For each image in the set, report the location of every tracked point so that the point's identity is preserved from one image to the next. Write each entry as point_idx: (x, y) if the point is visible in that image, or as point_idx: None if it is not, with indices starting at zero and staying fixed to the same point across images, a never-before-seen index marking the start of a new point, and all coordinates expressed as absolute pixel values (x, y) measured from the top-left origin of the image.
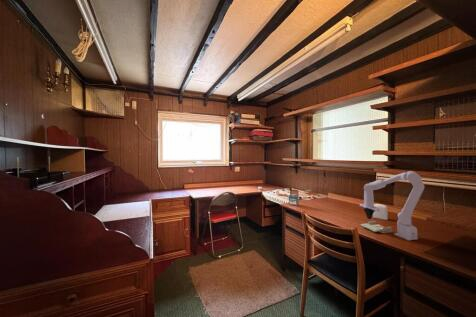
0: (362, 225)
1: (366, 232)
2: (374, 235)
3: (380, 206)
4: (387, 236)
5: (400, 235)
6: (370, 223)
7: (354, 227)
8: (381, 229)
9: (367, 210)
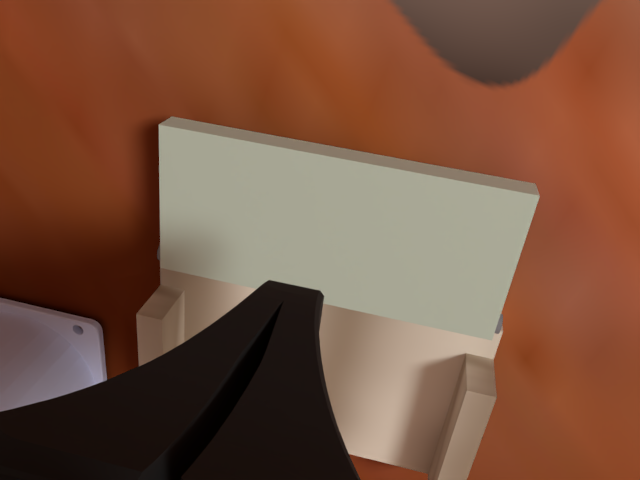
0: (484, 178)
1: (281, 3)
2: (128, 14)
3: None
4: (60, 179)
5: (2, 318)
6: (458, 392)
7: (606, 15)
8: (162, 267)
9: (46, 446)
